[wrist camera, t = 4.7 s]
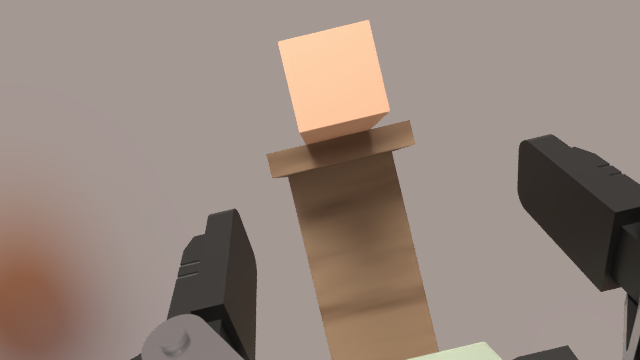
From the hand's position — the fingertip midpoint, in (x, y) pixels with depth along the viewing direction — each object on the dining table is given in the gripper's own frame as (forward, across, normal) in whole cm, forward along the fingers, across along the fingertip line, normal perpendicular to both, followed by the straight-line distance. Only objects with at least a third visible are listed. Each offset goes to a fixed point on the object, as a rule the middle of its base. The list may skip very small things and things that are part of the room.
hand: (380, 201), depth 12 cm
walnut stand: (+3, 0, +37) cm, 37 cm away
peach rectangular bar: (+16, 0, +6) cm, 17 cm away
